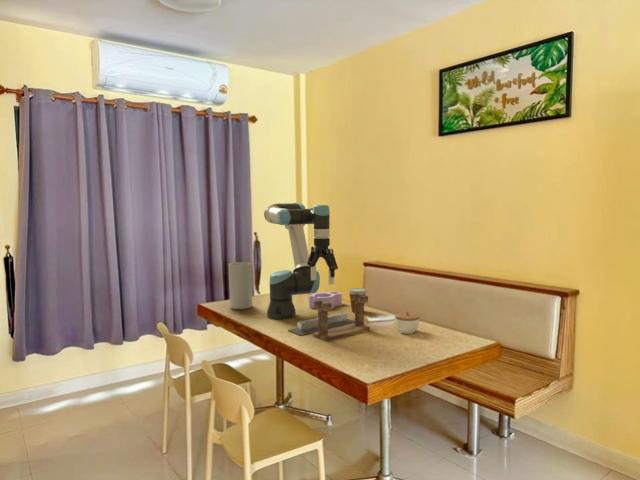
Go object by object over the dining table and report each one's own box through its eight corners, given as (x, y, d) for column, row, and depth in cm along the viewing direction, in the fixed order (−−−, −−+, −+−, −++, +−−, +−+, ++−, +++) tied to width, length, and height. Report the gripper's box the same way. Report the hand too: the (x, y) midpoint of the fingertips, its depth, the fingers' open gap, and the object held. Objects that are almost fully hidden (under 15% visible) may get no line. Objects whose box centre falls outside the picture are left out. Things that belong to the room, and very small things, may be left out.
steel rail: (297, 330, 212) (297, 322, 211) (343, 319, 229) (343, 312, 228) (301, 331, 209) (301, 323, 209) (347, 321, 226) (347, 313, 226)
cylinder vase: (226, 306, 261) (224, 263, 259) (244, 303, 269) (243, 261, 267) (237, 310, 252) (235, 266, 249) (256, 307, 260) (255, 263, 257)
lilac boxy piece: (332, 301, 271) (331, 290, 271) (346, 305, 262) (346, 293, 261) (306, 307, 258) (305, 295, 257) (320, 311, 249) (320, 299, 248)
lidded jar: (419, 336, 203) (419, 315, 202) (394, 334, 205) (395, 314, 204) (419, 329, 213) (419, 309, 212) (395, 328, 215) (396, 308, 214)
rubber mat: (287, 330, 213) (287, 329, 213) (342, 318, 234) (342, 317, 234) (300, 335, 205) (300, 334, 205) (356, 322, 226) (356, 321, 226)
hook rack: (312, 336, 204) (312, 301, 203) (355, 325, 220) (355, 292, 219) (326, 341, 196) (326, 305, 195) (370, 330, 212) (370, 296, 211)
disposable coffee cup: (352, 308, 253) (352, 287, 252) (368, 310, 249) (368, 288, 248) (346, 312, 245) (345, 290, 244) (362, 314, 241) (362, 292, 239)
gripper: (299, 236, 223) (300, 279, 225) (332, 240, 203) (332, 286, 205) (312, 235, 227) (312, 277, 229) (345, 238, 208) (345, 284, 210)
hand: (322, 282), depth 217 cm, fingers open, 13 cm apart
